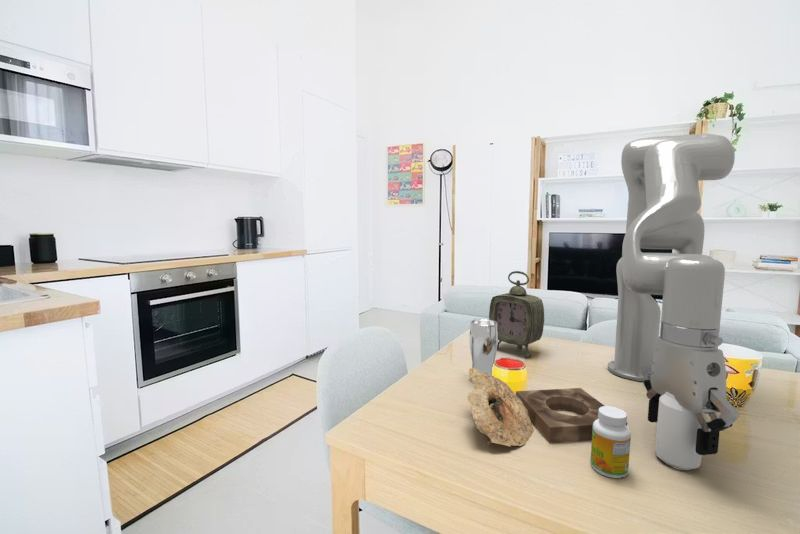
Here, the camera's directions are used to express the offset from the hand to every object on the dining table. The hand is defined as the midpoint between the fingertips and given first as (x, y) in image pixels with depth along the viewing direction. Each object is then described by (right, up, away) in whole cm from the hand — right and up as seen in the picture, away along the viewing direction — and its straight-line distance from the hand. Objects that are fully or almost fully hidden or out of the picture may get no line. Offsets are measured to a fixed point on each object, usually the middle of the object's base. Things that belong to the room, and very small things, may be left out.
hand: (679, 436), depth 63 cm
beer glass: (-25, -1, +34) cm, 42 cm away
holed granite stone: (-27, -4, +12) cm, 30 cm away
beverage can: (0, -5, +1) cm, 5 cm away
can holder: (-12, -3, +14) cm, 19 cm away
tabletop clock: (-10, +2, +56) cm, 57 cm away
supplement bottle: (-12, -5, -1) cm, 13 cm away
